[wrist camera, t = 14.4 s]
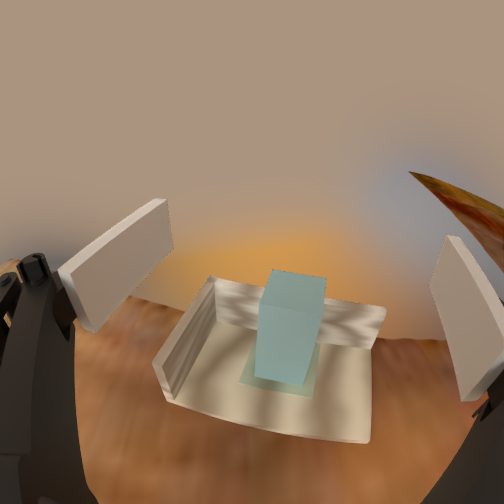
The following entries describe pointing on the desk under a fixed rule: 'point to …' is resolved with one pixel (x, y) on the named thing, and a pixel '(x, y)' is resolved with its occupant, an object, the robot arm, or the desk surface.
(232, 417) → the arena
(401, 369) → the desk surface
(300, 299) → the teal block
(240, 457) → the desk surface
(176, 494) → the desk surface
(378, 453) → the desk surface
